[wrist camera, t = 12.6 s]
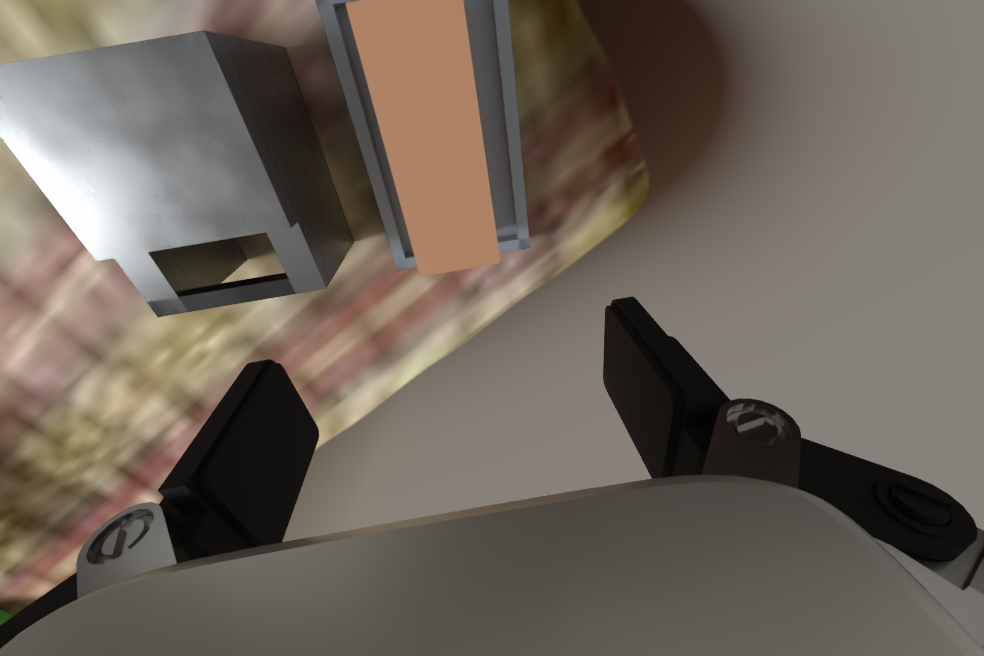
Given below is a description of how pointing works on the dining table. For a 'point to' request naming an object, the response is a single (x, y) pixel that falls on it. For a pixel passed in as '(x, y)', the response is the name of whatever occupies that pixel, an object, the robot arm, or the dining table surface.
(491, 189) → the tray
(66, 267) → the dining table surface
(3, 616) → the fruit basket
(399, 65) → the tan rectangular block
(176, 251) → the dispenser
